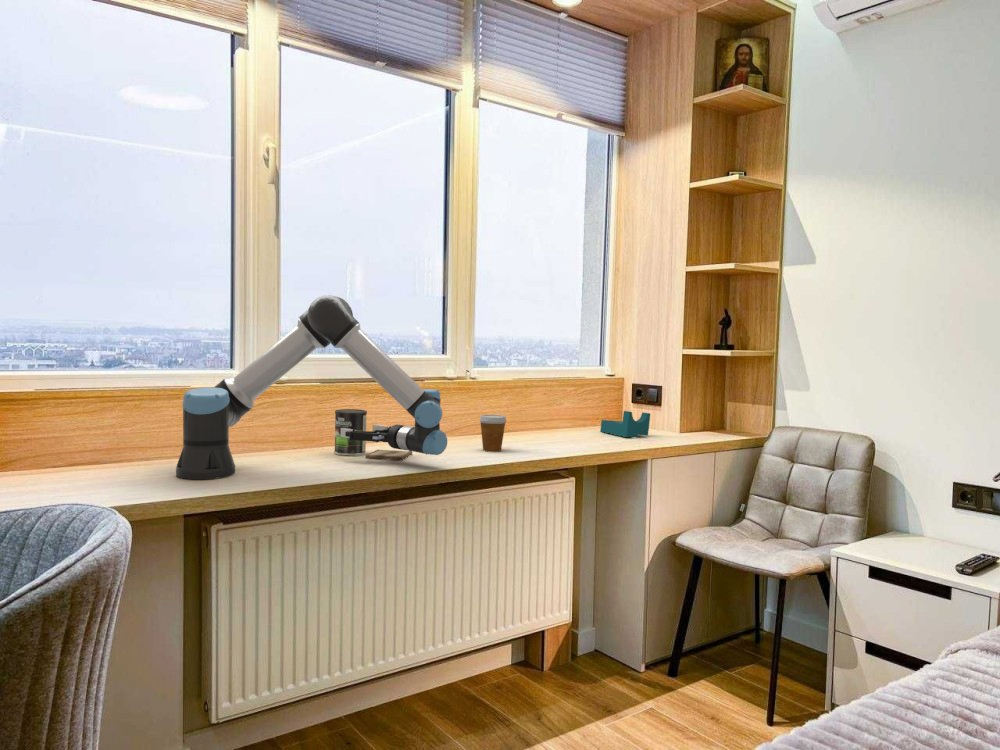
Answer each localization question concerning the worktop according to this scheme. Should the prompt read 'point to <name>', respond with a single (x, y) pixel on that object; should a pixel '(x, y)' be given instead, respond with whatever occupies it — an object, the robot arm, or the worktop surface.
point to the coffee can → (349, 421)
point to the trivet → (388, 454)
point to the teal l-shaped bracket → (627, 425)
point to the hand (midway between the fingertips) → (357, 430)
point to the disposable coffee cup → (492, 431)
